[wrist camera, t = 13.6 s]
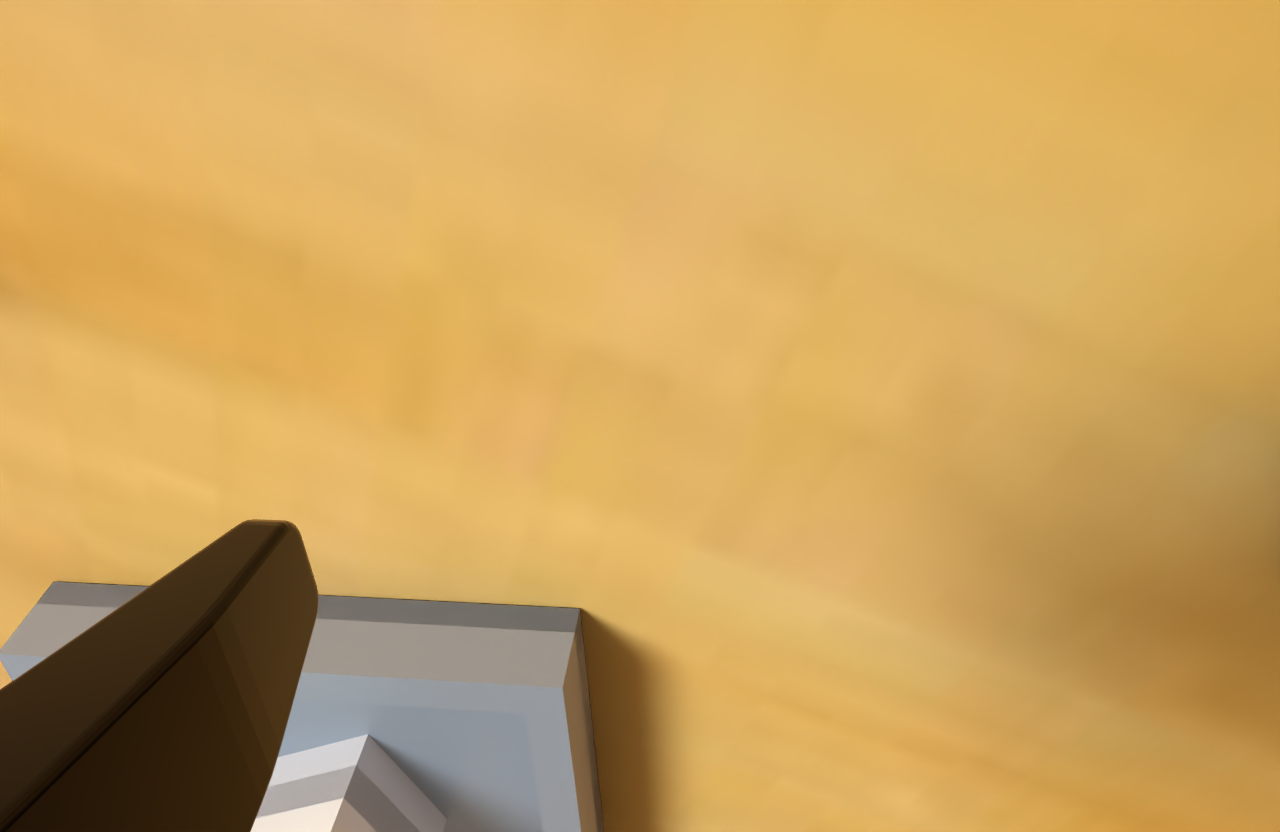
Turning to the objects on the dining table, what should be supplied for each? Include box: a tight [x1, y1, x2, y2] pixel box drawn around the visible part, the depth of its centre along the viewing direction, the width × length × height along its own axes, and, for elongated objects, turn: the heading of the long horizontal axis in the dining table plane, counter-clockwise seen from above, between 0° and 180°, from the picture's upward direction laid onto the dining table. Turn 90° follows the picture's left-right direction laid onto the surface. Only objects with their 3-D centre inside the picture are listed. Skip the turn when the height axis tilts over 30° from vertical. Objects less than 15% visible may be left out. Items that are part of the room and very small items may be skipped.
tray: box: [0, 582, 604, 832], centre depth 31 cm, size 14×14×2 cm
